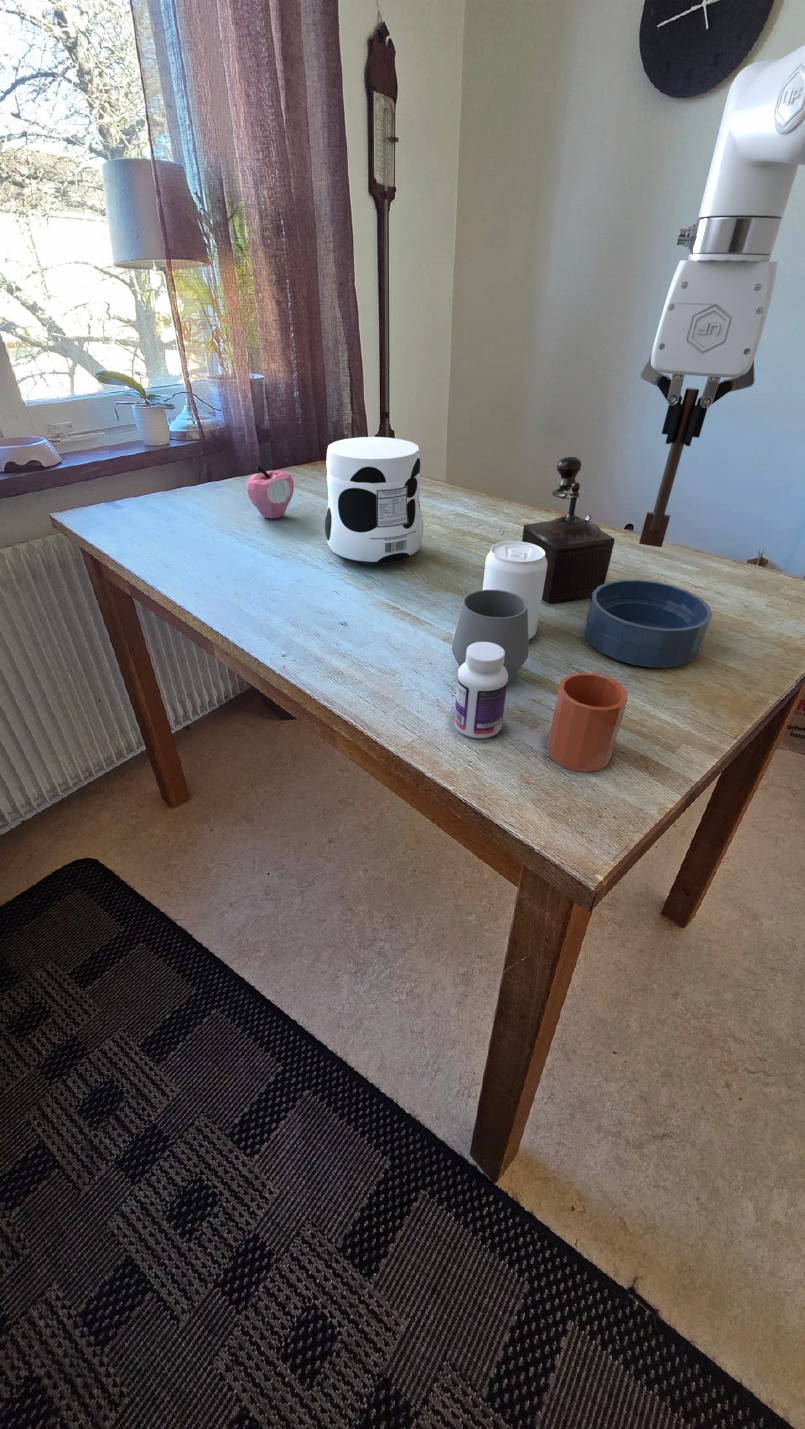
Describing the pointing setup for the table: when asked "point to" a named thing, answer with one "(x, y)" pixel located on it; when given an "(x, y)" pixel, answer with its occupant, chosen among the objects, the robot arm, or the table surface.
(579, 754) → the utensil pot
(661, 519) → the stirring stick
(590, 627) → the bowl
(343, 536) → the milk container
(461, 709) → the pill bottle
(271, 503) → the apple
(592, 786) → the table surface
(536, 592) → the beverage can
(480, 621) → the cup
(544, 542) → the manual coffee grinder
